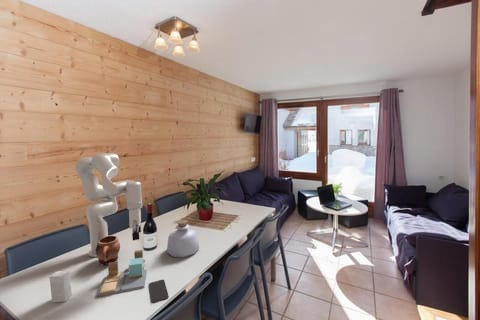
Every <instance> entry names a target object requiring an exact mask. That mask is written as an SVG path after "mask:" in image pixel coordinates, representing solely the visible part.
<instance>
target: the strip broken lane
mask: <svg viewBox="0 0 480 320" xmlns="http://www.w3.org/2000/svg"><path fill="white" fill-rule="evenodd" d="M107 271H108V272H107V273H108V274H107V275H106V276H107V277H106V276H105V277H106V279H105V282H104V284H105V283H111V282H116V281H118V280H119V277H120V274H122V273H121V271H119V261H118V260H117V261H116V262H111V263H109V264H108V265H107Z"/></svg>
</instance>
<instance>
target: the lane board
mask: <svg viewBox="0 0 480 320" xmlns="http://www.w3.org/2000/svg"><path fill="white" fill-rule="evenodd" d="M147 271H148V270H147V269H144V270H143V276H140V277H134V278H129V272H127V271H126V272H124V273H121V274H120V277H119V280H118V281H116V282H111V283H105V284H104V282H105V279H106V277H107V275H106V276H104V277H103V280H102V282H101V284H100V286H99V289H98V291H97V293H96V297H103V296H107V295H108V296H109V295H113V294H119V293H123V292H124V293H125V292H129V291H134V290H138V289H144V288H145V286H146V279H147Z"/></svg>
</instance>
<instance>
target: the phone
mask: <svg viewBox="0 0 480 320" xmlns="http://www.w3.org/2000/svg"><path fill="white" fill-rule="evenodd" d="M148 291H149V295H150V296H149V297H150V300H151V301H150V302H151V303H152V304H155V303H159V302H162V301H165V300H168V298H170V297H169V292H168V288H167V285H166V282H165V280H164V279H159V280H156V281H152V282H149V283H148Z"/></svg>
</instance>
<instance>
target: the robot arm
mask: <svg viewBox="0 0 480 320" xmlns="http://www.w3.org/2000/svg"><path fill="white" fill-rule="evenodd" d="M74 164H75V165H74V169H75V171H76V174H77V176H78V178H79V180H80V181H81V187H82V190H83V192H84V198H85V199H86V201H88V202H94V203H91V204H89V205H87V207H86V209H85V214H86V217H87V221H88V227H89V228H88V229H89V241H90V250H89V251H88V256H89V257H91V258H98V257H97V255H96V247H97V244H98V241H99V240H100V239H101V238H103V237H106V236H109V231H108V223H107V221H106V219H104V218H105V217H108V216H110V215H113V214H115V213H117V211H118V210H119V206H118V202H117V197H120V196H123V195H124V196H125V197H126V199H125V200H126V209H127V210H128V217H129V218H128V220H129V221H128V222H129V229H131V230H132V231H131V237H132V241H139V240H140V233H142V227H141V225H142V224H141V223H142V211H141V209H142V208H143V193H142V192H143V191H142V184H141V182H140V181H137V180H136V181H135V180H132V179H125V180H119V181H115V182H112V179H113V178H115V177H116V176H117V175H118V173H119V168H118V166H119V164H120V157H119V156H118V155H117V154H116V153H114V152H108V153H107V152H106V153H97V154H94V155H93V156H87V157H81V158H79V159H77V160H76V161H75V163H74ZM92 171H93V172H94V171H98V172H99V174H101V179H100V180H101V182H100V183H101V184H100V183H99V180H98V177H97V176H96V175H95V174H94V173H93V172H92ZM99 200H100V201H99ZM101 200H103V201H101ZM95 201H97V202H95Z"/></svg>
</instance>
